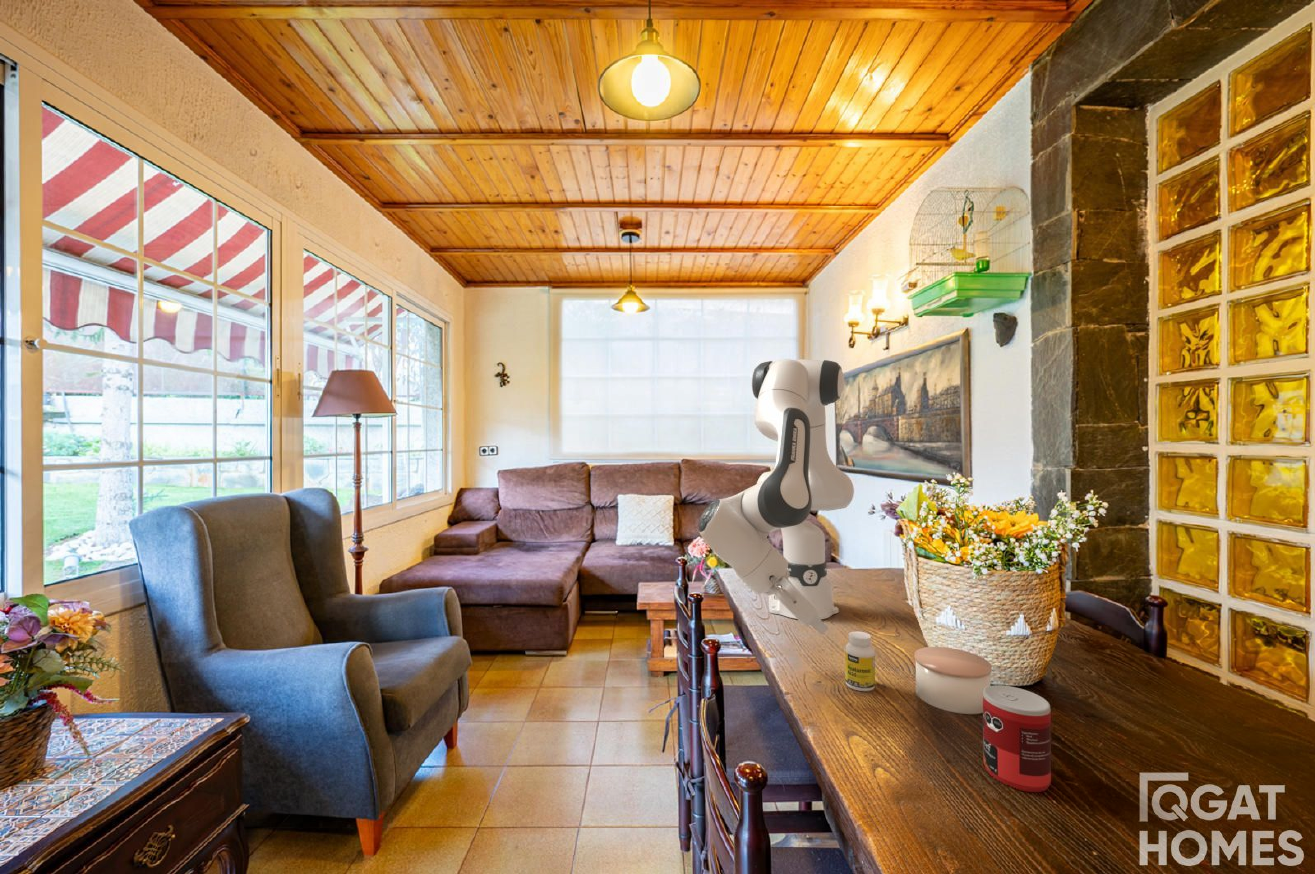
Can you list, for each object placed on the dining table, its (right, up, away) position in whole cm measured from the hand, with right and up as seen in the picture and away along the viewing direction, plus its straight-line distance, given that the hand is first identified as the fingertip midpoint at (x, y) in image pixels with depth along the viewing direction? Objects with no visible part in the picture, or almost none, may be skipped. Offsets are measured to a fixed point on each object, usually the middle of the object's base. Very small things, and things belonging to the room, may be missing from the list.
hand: (816, 621), depth 103 cm
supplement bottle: (+8, -13, 0) cm, 15 cm away
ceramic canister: (+24, -12, -5) cm, 27 cm away
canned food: (+20, -12, -28) cm, 36 cm away
